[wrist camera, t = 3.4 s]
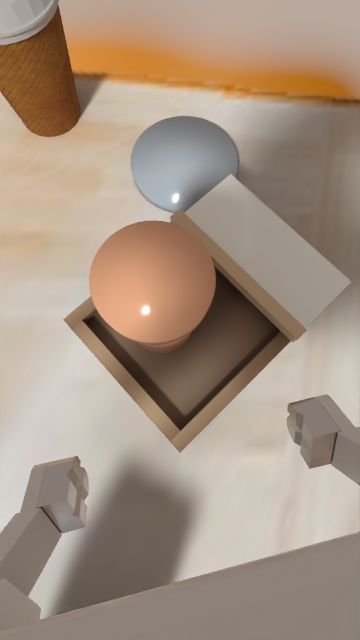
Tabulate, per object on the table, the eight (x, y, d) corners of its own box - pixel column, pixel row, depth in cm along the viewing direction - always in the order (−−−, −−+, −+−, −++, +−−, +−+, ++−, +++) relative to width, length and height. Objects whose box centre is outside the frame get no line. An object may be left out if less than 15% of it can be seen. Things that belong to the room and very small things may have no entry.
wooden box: (83, 332, 28) (63, 319, 23) (221, 213, 31) (229, 180, 26) (179, 441, 26) (179, 452, 21) (317, 303, 29) (346, 285, 24)
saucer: (110, 164, 32) (108, 157, 31) (186, 107, 34) (186, 99, 33) (182, 234, 31) (182, 228, 30) (257, 169, 32) (260, 162, 31)
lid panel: (171, 229, 25) (170, 216, 23) (229, 180, 26) (232, 165, 24) (288, 343, 23) (297, 339, 21) (346, 285, 24) (359, 276, 22)
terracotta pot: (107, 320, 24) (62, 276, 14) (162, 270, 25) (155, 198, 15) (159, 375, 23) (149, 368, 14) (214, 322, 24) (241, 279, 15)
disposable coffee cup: (93, 148, 33) (47, 13, 21) (4, 150, 33) (-93, 16, 21) (96, 78, 35) (55, -80, 23) (11, 80, 35) (-72, -78, 23)
